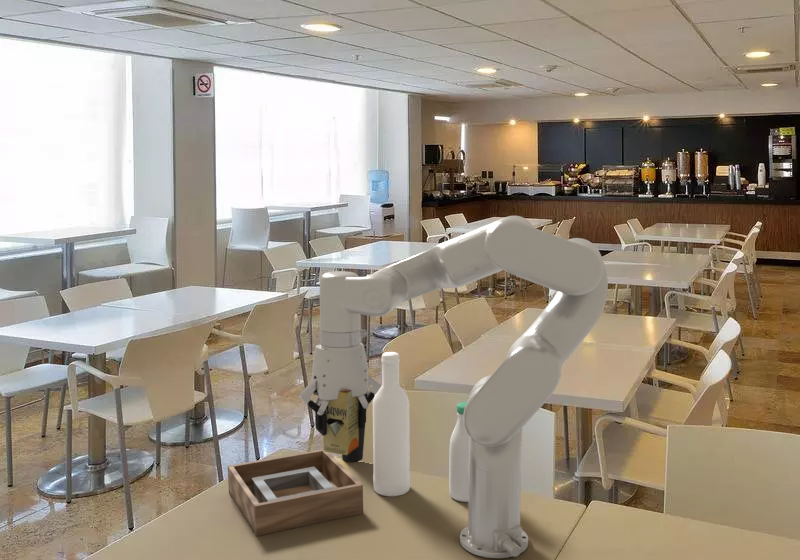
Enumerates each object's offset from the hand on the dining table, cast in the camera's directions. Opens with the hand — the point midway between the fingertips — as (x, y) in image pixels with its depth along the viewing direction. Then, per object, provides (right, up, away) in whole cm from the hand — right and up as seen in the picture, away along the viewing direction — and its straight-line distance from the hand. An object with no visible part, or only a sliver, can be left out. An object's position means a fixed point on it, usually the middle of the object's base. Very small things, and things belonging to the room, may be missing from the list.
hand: (341, 429), depth 150 cm
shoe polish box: (0, -4, +1) cm, 4 cm away
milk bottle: (+25, -17, +18) cm, 35 cm away
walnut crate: (-11, -18, +15) cm, 26 cm away
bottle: (+9, -17, +21) cm, 29 cm away
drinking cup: (0, -14, +38) cm, 41 cm away
